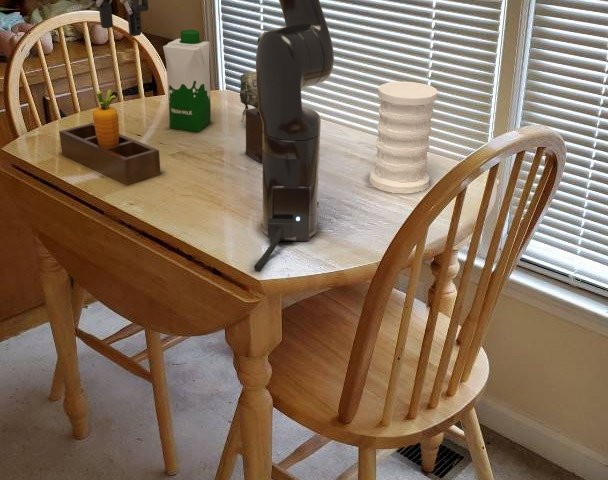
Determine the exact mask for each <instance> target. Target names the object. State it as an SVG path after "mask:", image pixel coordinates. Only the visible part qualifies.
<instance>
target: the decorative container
mask: <svg viewBox="0 0 608 480" xmlns="http://www.w3.org/2000/svg"><path fill="white" fill-rule="evenodd" d="M377 96H378V98H379V99H381V100H380V104H379V107H378V115H379V121H378V123H377V127H376V128H377V133H378V136H377V138H376V141H375V146H376V149H377V150H376V154H375V157H374V164H375V168H374V169H372V170H371V171H370V172H369V183H370V185H372V186H373V187H374V188H376V189H378V190H380V191H384V192H387V193H393V194H414V193H415V194H416V193H419V192H422V191H424V190H426V189H427V188H428V187H429V185H430V176H429V174H428V173H427V172H426V168H427V166H428V162H429V161H428V156H427V155H428V152H429V149H430V141H429V139H430V136H431V133H432V125H431V121H432V119H433V116H434V108H433V103H435V102H436V101H437V100H438V89H437V88H435V87H434V86H432V85H430V84H427V83H422V82H415V81H389V82H386V83H382V84H381V85H379V86H378V89H377Z"/></svg>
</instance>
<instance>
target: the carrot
mask: <svg viewBox="0 0 608 480" xmlns="http://www.w3.org/2000/svg"><path fill="white" fill-rule="evenodd" d="M106 92H107V93H106V98H104V97H103V93H102V91H101V90H97V92H96V97H97V100H98V102H99V105H100V107H97V108H95V109H94V110H93V111H92V117H93V123H94V125H95V131H96V136H97V140H98V144H99V146H101V147H103V148H106V147H109V146H113V145H117V144H119V134H120V123H119V114H118V111H117V109H116V108H115V107H112V106H110V105H111V103H112V102H113V101H114V100H115V99H117V97H116V95H111V94H112V89H108V90H107V91H106Z"/></svg>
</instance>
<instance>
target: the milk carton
mask: <svg viewBox="0 0 608 480" xmlns="http://www.w3.org/2000/svg"><path fill="white" fill-rule="evenodd" d="M200 39H201V38H200V31H199V30H197V29H184V30H181V31H180V38H177V39H174V40H172V41H169V42H168V43H167V44H165V45H163V46H162V50H163V54H164V58H165V65H166V66H165V67H166V79H167V80H166V81H167V97H168V98H167V99H168V116H169V117H168V118H169V129H172V130H180V131H185V132H194V133H199V132H201V131H202V130H203V129H205V128H206V127H207V126H208V125H210V124H211V123H212V121H211V120H212V119H211V117H212V116H211V115H212V114H211V113H212V111H211V109H212V106H211V105H212V103H211V76H210V75H211V74H210V44H211V42H210V41H206V40H200Z"/></svg>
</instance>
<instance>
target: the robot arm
mask: <svg viewBox="0 0 608 480" xmlns="http://www.w3.org/2000/svg"><path fill="white" fill-rule="evenodd" d="M90 1H91V2H92V3H93V2H95V3H96V6H97V7H98V12H99V21H100V26H101V28H102V29H109V28H110V29H111V28H113V27H114V21H113V20H114V19H113V9H112V6H111V4H112V1H113V0H90ZM119 2H120V3H121V4H122V5H123V6H124V7H125V9H126V11H127V13H128V14H127V23H128V34H129V36H131V37H137V36H140V35H141V34H142V19H141V16H142V15H141V14H142V13H144V12H148V11H149V0H141V1H140V0H119ZM140 2H141V3H140ZM278 2H279V4H280V8H281V12H282V15H283V19H284V24H285V26H282V27H277V28H273V29H270V30H267V31H265V32H266V33H265V34H264V35H263V36H262V37H261V39H260V41H259V43H258V42H257V47H256V51H255V52H256V54H255V73H256V79H257V98H258V109H259V113H260V116H261V119H262V123H263V163H262V222H261V230H262V232H263V234H264V235H266V236H267V238H268V239H271V242H270V245H269V246H268V248H267V249H266V250H265V251H264V253H263V254H262V256H261V257H260V258H259V260H258V261H257V262H256V263H255V264H254V265H253V269H254V270H255V271H260V270H261V268H262V267H263V266H264V265H265V263H266V262H267V261H268V259H269V258H270V256H271V255H272V254H273V252H274V251H275V249H276V248H277V246H278V245H279V243H280V241H281V242H282V241H283V242H309V240H310V238H311V237H313V236H315V235H316V234H317V232H318V209H319V205H320V204H319V203H320V201H319V200H318V198H319V195H318V194H319V173H320V171H319V170H320V150H321V149H320V148H321V125H322V123H321V122H322V120H321V119H322V118H321V116H320V114H319V113H318V112H317V111H315V110H314V109H312V108H308V107H307V106H303V101H302V89H304V88H305V89H306V88H308V87H313V86H316V85H320V84H322V83H325V82H326V81H327V80H328V79H329V78H330V76H331V74H332V72H333V69H334V64H335V54H334V53H335V52H334V46H333V40H332V36H331V33H330V29H329V26H328V24H327V20H326V17H325V13H324V11H323V8H322V5H321V1H320V0H278Z"/></svg>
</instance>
